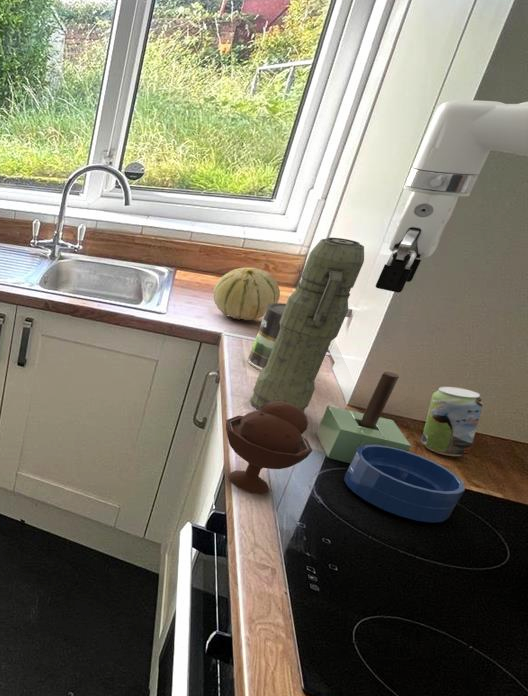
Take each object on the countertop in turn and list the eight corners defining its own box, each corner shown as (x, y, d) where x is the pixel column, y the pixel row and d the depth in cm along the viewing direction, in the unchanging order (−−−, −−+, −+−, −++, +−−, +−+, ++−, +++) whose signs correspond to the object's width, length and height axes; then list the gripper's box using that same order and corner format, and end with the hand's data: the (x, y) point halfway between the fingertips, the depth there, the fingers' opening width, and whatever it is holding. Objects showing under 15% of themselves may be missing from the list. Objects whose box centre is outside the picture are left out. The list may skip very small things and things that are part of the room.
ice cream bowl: (216, 454, 102) (244, 379, 96) (295, 485, 95) (330, 406, 89) (200, 480, 95) (229, 401, 89) (284, 516, 88) (321, 432, 82)
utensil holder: (379, 448, 106) (393, 420, 103) (396, 475, 98) (411, 445, 96) (315, 432, 110) (327, 405, 107) (327, 457, 102) (340, 429, 100)
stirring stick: (359, 451, 104) (397, 373, 98) (362, 457, 103) (401, 378, 97) (345, 448, 105) (381, 370, 99) (348, 454, 104) (385, 375, 97)
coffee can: (242, 365, 135) (263, 310, 130) (252, 353, 142) (271, 299, 137) (297, 382, 129) (321, 324, 123) (304, 368, 136) (327, 312, 130)
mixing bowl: (429, 490, 95) (445, 459, 93) (460, 537, 85) (480, 504, 83) (334, 465, 100) (348, 436, 98) (353, 507, 90) (369, 475, 88)
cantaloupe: (266, 316, 166) (285, 266, 161) (271, 332, 155) (292, 279, 149) (206, 304, 173) (221, 256, 168) (206, 319, 162) (223, 268, 156)
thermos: (295, 400, 121) (363, 237, 108) (310, 428, 111) (387, 252, 98) (244, 389, 125) (304, 230, 111) (254, 415, 115) (321, 244, 101)
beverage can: (464, 465, 101) (498, 406, 97) (407, 446, 107) (436, 389, 102) (466, 452, 105) (499, 395, 101) (411, 434, 110) (439, 378, 106)
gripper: (467, 191, 84) (415, 301, 91) (478, 182, 94) (431, 281, 101) (397, 183, 90) (353, 287, 96) (415, 175, 100) (374, 270, 106)
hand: (393, 284), depth 99 cm, fingers open, 9 cm apart
